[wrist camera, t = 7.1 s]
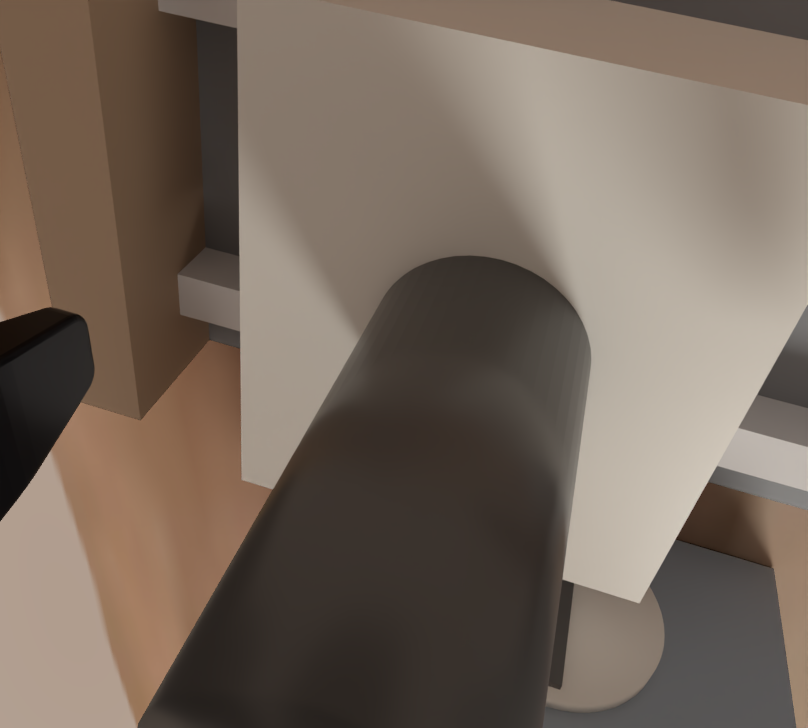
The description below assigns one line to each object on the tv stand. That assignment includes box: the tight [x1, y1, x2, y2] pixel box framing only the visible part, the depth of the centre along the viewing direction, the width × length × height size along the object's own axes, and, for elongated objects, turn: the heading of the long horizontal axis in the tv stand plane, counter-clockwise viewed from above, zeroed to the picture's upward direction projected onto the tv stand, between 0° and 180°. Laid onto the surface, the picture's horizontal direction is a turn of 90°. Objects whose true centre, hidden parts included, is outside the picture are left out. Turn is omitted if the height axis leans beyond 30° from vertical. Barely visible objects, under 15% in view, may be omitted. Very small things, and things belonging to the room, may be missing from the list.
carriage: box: [138, 0, 808, 728], centre depth 9 cm, size 8×7×9 cm
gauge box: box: [543, 540, 796, 728], centre depth 18 cm, size 6×10×6 cm, turn 82°
